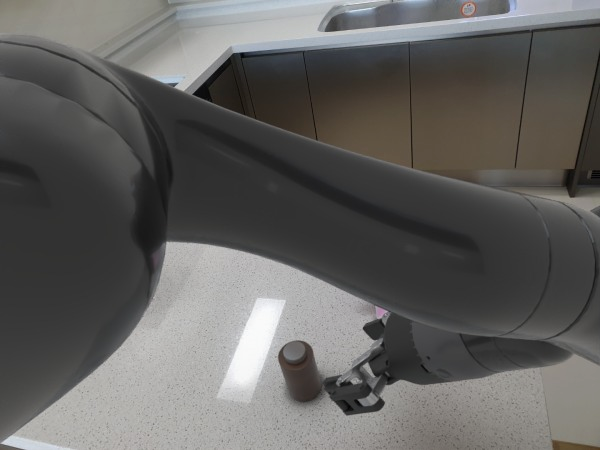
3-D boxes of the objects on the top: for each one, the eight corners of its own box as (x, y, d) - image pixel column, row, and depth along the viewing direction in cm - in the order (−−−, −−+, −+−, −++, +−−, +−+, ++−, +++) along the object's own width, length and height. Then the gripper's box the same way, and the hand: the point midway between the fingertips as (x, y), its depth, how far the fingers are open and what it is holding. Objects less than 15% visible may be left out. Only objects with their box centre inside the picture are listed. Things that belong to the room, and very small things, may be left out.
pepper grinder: (308, 407, 63) (297, 371, 58) (281, 391, 66) (269, 356, 61) (327, 381, 66) (319, 344, 61) (301, 366, 69) (290, 330, 64)
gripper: (453, 252, 43) (359, 294, 57) (379, 365, 35) (290, 383, 49) (505, 310, 44) (400, 338, 57) (444, 435, 36) (338, 433, 49)
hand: (349, 358), depth 53 cm, fingers open, 8 cm apart
